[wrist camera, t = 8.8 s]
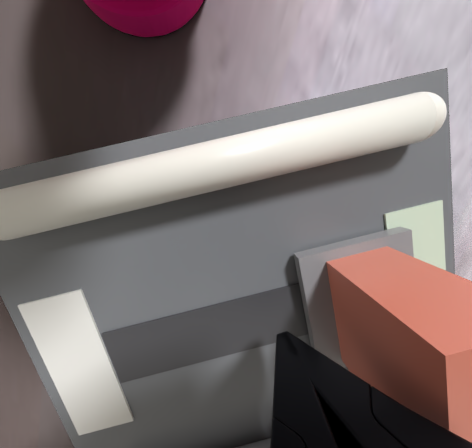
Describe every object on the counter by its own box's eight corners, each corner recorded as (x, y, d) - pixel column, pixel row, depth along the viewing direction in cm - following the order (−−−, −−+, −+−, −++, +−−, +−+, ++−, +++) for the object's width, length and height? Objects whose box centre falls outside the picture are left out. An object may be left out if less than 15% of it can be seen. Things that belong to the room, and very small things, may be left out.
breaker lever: (399, 226, 10) (623, 289, 4) (409, 337, 11) (596, 495, 5) (293, 253, 9) (390, 351, 4) (314, 363, 11) (411, 550, 5)
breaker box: (375, 100, 13) (497, 44, 7) (400, 356, 16) (496, 449, 11) (33, 180, 12) (-118, 185, 7) (133, 427, 15) (88, 566, 10)
